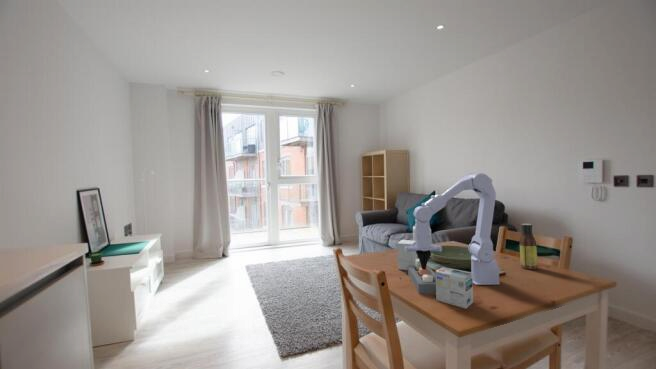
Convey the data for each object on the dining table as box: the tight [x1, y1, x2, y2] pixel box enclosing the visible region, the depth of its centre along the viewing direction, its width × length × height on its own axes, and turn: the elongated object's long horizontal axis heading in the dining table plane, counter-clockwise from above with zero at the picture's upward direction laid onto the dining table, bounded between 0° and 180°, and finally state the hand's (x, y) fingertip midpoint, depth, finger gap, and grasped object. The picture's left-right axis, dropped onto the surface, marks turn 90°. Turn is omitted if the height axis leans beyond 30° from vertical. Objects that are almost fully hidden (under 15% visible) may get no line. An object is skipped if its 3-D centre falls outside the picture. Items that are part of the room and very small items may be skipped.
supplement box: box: [396, 239, 418, 271], centre depth 139 cm, size 7×7×13 cm
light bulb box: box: [434, 266, 474, 309], centre depth 102 cm, size 11×7×11 cm, turn 45°
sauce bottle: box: [519, 223, 538, 270], centre depth 131 cm, size 7×6×20 cm
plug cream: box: [423, 274, 433, 282], centre depth 114 cm, size 4×4×5 cm
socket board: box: [407, 265, 436, 295], centre depth 120 cm, size 9×21×4 cm, turn 176°
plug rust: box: [419, 267, 429, 276], centre depth 120 cm, size 4×4×5 cm
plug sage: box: [416, 258, 421, 271], centre depth 126 cm, size 4×4×5 cm
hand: (423, 268), depth 120 cm, fingers closed, pressing on plug rust
